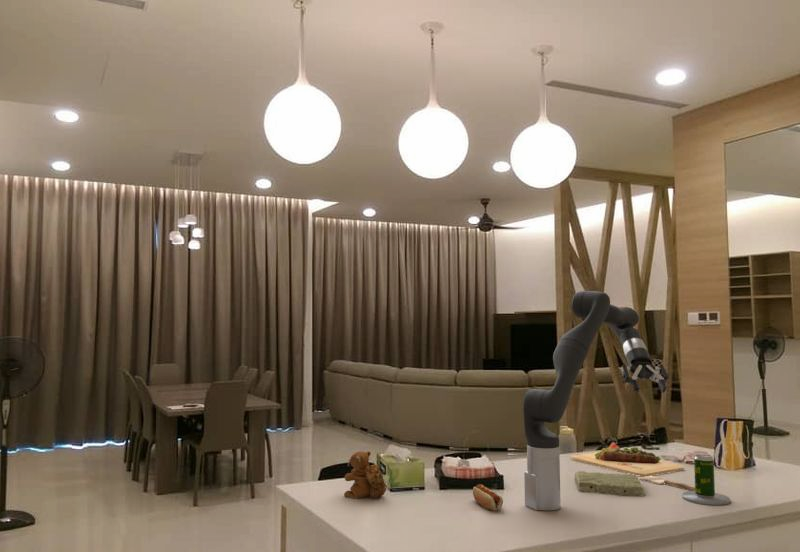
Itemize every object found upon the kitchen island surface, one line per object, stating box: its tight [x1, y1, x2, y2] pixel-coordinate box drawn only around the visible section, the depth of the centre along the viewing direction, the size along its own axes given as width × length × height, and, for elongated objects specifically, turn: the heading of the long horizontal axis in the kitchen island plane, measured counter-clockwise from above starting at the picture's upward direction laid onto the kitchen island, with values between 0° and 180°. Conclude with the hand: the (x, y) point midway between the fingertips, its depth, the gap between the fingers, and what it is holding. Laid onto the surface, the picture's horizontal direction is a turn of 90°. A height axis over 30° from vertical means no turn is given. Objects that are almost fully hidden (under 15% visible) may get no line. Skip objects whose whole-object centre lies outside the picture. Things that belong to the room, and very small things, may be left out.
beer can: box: [693, 453, 716, 498], centre depth 190 cm, size 5×5×12 cm
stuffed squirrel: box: [343, 450, 388, 499], centre depth 194 cm, size 10×14×13 cm
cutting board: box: [570, 442, 685, 477], centre depth 238 cm, size 35×23×8 cm
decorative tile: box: [574, 470, 645, 496], centre depth 204 cm, size 19×20×4 cm
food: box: [472, 483, 504, 512], centre depth 183 cm, size 14×6×5 cm, turn 17°
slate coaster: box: [681, 490, 731, 506], centre depth 190 cm, size 13×13×1 cm
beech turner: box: [639, 475, 695, 491], centre depth 206 cm, size 22×6×1 cm, turn 30°
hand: (650, 391), depth 206 cm, fingers open, 8 cm apart
